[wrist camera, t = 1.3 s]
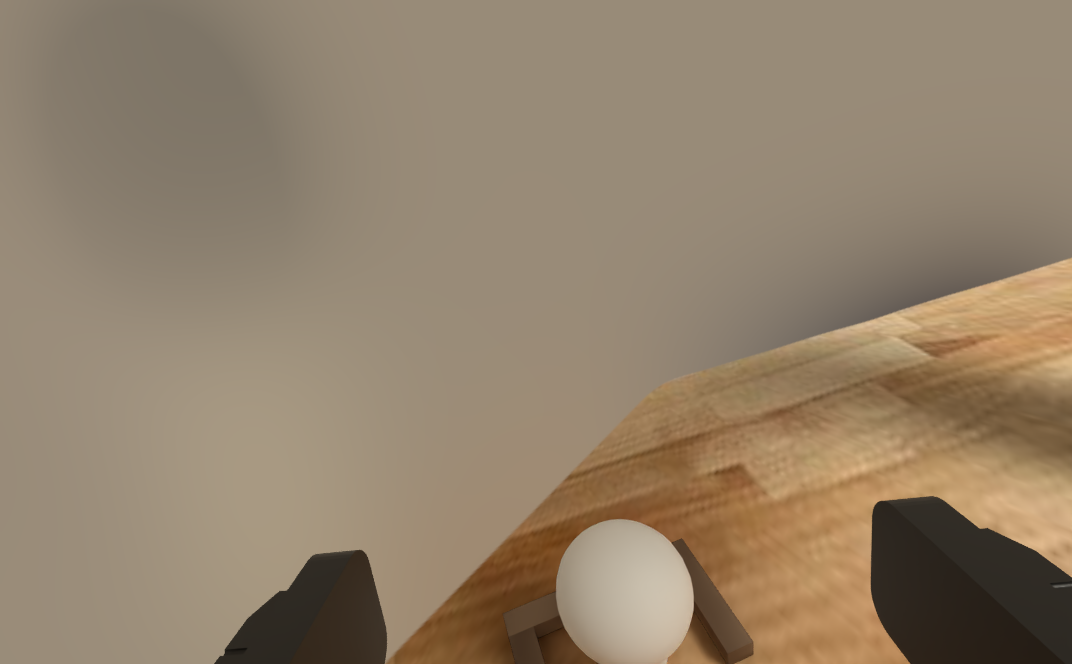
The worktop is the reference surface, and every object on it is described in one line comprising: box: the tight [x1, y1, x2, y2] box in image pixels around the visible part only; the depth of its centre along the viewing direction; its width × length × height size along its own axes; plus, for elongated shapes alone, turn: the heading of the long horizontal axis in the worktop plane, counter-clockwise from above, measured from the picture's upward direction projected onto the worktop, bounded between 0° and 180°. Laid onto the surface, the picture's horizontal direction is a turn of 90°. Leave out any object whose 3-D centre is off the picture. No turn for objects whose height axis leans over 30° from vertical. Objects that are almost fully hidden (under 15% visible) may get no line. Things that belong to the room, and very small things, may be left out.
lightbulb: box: [556, 519, 694, 664], centre depth 25 cm, size 6×6×11 cm
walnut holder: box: [503, 539, 753, 664], centre depth 29 cm, size 12×7×1 cm, turn 107°
